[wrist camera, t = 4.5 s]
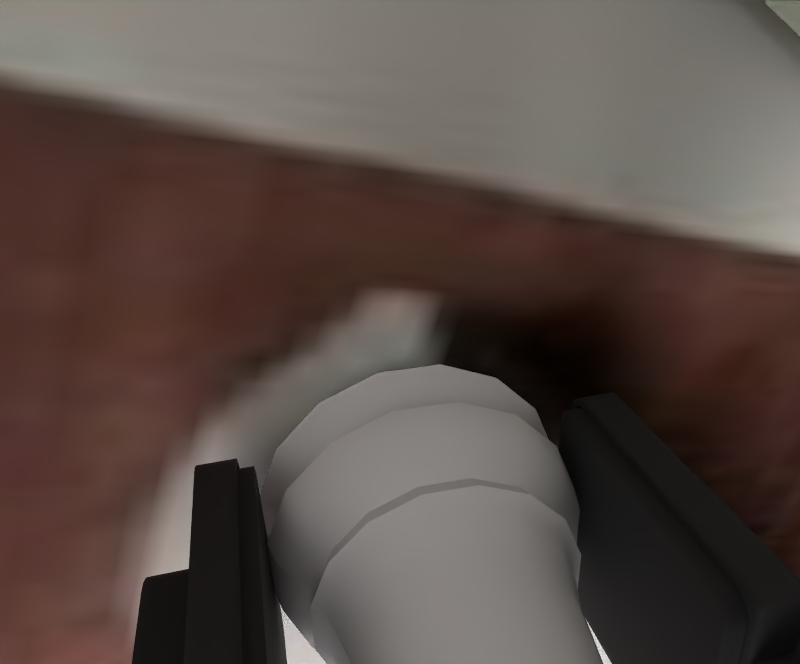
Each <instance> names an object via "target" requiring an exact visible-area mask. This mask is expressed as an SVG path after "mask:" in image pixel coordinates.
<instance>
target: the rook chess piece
mask: <svg viewBox="0 0 800 664" xmlns="http://www.w3.org/2000/svg"><path fill="white" fill-rule="evenodd" d="M260 499H261V505H262V510H263V515H264V521H265V526H266V532H267V537H268V541H267V547H268V554H269V561H270V568H271V574H272V579H273V585H274V591H275V595H276V597H277V599H278V601H279V603H280V605H281V607H282V608H283V610H284V612H285V613H286V615H287V616H288V617H289V618H290V620H291V621H292V622H293V623H294V625H295V626H296V627H297V628H298V630H299V631H300V632H301V633H302V635H303V636H304V637H305V638H306V640H307V641H308V642H309V643H310V645H311V646H312V647H313V648H315V649H316V651H317V652H318V653H319V654H320V656H321V657H322V658H323V659H324V661H325V662H326V663H327V664H603V662H602V659H601V657H600V654H599V652H598V649H597V647H596V644H595V642H594V639H593V636H592V634H591V631H590V629H589V626H588V624H587V621H586V619H585V616H584V614H583V611H582V607H581V602H580V598H579V593H578V580H579V571H580V561H581V553H580V551H579V549H578V547H577V534H578V525H579V515H580V508H579V504H578V500H577V496H576V492H575V489H574V486H573V484H572V481H571V479H570V476H569V474H568V472H567V469H566V467H565V465H564V462H563V460H562V457H561V455H560V453H559V450H558V448H557V446H556V445H555V444H553V443H552V442H551V441H549V439H548V437H547V435H546V432H545V430H544V427H543V425H542V423H541V420H540V418H539V416H538V413H537V411H536V409H535V408H534V407H532V406H531V405H530V404H529V403H527V402H526V401H525V400H524V399H522V398H521V397H520V396H519V395H517V394H516V393H515V392H514V391H512V390H511V389H510V388H509V387H507V386H506V385H505V384H504V383H502V382H501V381H500V380H499V379H497V378H495V377H491V376H487V375H483V374H479V373H474V372H470V371H466V370H462V369H458V368H454V367H450V366H445V365H441V364H439V365H431V366H424V367H416V368H409V369H402V370H394V371H387V372H380V373H376V374H374V375H372V376H370V377H368V378H366V379H364V380H362V381H360V382H358V383H356V384H354V385H352V386H350V387H348V388H346V389H344V390H343V391H341V392H339V393H337V394H335V395H333V396H331V397H329V398H327V399H325V400H323V401H321V402H319V403H318V404H317V405H316V406H315V407H314V408H313V409H312V410H311V411H310V413H309V414H308V415H307V416H306V417H305V418H304V419H303V420H302V421H301V422H300V423H299V424H298V426H297V427H296V428H295V429H294V430H293V431H292V432H291V433H290V434H289V435H288V436H287V438H286V439H285V440H284V441H283V442H282V443H281V444H280V445H279V446H278V447H277V448H276V451H275V454H274V457H273V460H272V463H271V465H270V468H269V471H268V474H267V477H266V480H265V483H264V485H263V488H262V491H261V494H260Z"/></svg>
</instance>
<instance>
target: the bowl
mask: <svg viewBox="0 0 800 664" xmlns="http://www.w3.org/2000/svg"><path fill="white" fill-rule="evenodd" d="M765 3H766V5H767V6H768V7H769V8H771V9H772V10H773V11H774V12H775V13H776V14H777V15H778V16H779V17H780V18H781V19H782V20H783V21H784V22H785V23H786V24H787V25H788V26H789V27H790V28H792V29H793V30H794V31H795V32H796V33H797V34H798V35H799V36H800V0H766V2H765Z"/></svg>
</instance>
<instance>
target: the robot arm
mask: <svg viewBox="0 0 800 664" xmlns="http://www.w3.org/2000/svg"><path fill="white" fill-rule="evenodd" d="M559 453H560V455H561V457H562V460H563V462H564V465H565V467H566V469H567V472H568V474H569V476H570V479H571V481H572V484H573V486H574V489H575V492H576V496H577V500H578V504H579V508H580V515H579V525H578V534H577V547H578V549H579V551H580V553H581V561H580V571H579V580H578V593H579V598H580V602H581V607H582V611H583V614H584V616H585V618H586V620H587V621H588V623H589V625H590V627H591V628H592V630H593V632H594V633H595V635H596V637H597V639H598V640H599V642H600V644H601V646H602V647H603V649H604V651H605V652H606V654H607V656H608V658H609V659H610V661H611V663H612V664H800V580H799V579H798V578H797V577H796V576H795V575H794V574H793V573H792V572H791V571H790V569H789V568H788V567H787V566H786V565H785V564H784V563H783V562H782V561H781V560H780V559H779V558H778V557H777V556H776V555H775V554H774V553H773V552H772V551H771V550H770V549H769V548H768V547H767V546H766V545H765V544H764V543H763V542H762V541H761V540H760V539H759V538H758V537H757V536H756V535H755V534H754V533H753V532H752V531H751V530H750V529H749V528H748V527H747V526H746V525H745V523H744V522H743V521H742V520H741V519H740V518H739V517H738V516H737V515H736V514H735V513H734V512H733V511H732V510H731V509H730V508H729V507H728V506H727V505H726V504H725V503H724V502H723V501H722V500H721V499H720V498H719V497H718V496H717V495H716V494H715V493H714V492H713V491H712V490H711V489H710V488H709V487H708V486H707V485H706V484H705V483H704V482H703V481H702V480H701V479H700V478H699V477H698V476H697V475H695V474H694V473H693V472H692V471H691V470H690V469H689V468H688V467H687V466H686V465H685V464H684V463H683V462H682V461H681V460H680V459H679V458H678V457H677V456H676V455H675V454H674V453H673V452H672V451H671V450H670V449H669V448H668V447H667V446H666V445H665V444H664V443H663V442H662V441H661V440H660V439H659V438H658V437H657V436H656V434H655V433H654V432H653V431H652V430H651V429H650V428H649V427H648V426H647V425H646V424H645V423H644V422H643V421H642V420H641V419H640V418H639V417H638V416H637V415H636V414H635V413H634V412H633V411H632V410H631V409H630V408H629V407H628V406H627V405H626V404H625V403H624V402H623V401H622V400H621V399H620V398H619V396H617V395H616V394H614V393H605V394H599V395H594V396H588V397H582V398H577V399H575V400H574V401H573V402H572V405H571V410H565V411H564V412H563V413H562V415H561V422H560V442H559ZM267 541H268V537H267V532H266V526H265V521H264V515H263V510H262V505H261V499H260V494H259V488H258V483H257V477H256V472H255V468H254V466H253V467H247V468H242V469H240V468H239V464H238V460H237V459H231V460H225V461H220V462H214V463H208V464H203V465H197V466H196V467H195V471H194V488H193V506H192V523H191V541H190V558H189V569H186V570H181V571H176V572H171V573H166V574H161V575H156V576H151V577H146V579H145V581H144V582H143V587H142V592H141V599H140V606H139V614H138V621H137V629H136V636H135V644H134V651H133V659H132V664H287V659H286V649H285V638H284V629H283V622H282V615H281V609H280V603H279V601H278V599H277V597H276V595H275V591H274V585H273V579H272V574H271V568H270V561H269V554H268V547H267Z"/></svg>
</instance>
